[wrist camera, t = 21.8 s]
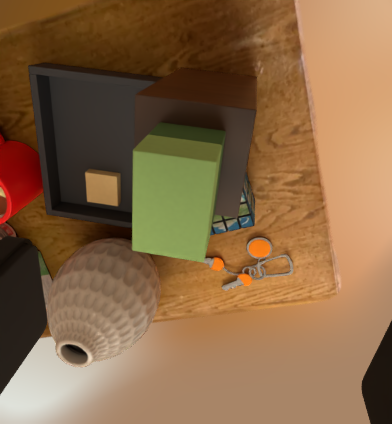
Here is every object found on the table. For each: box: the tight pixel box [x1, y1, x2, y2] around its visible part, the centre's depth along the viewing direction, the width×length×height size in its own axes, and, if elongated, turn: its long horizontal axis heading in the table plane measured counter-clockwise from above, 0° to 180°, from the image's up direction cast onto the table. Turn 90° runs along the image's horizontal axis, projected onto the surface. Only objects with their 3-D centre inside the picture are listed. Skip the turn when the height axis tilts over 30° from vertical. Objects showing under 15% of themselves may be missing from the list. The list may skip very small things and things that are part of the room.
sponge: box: [132, 122, 226, 262], centre depth 23 cm, size 6×4×6 cm
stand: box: [134, 68, 257, 218], centre depth 32 cm, size 8×8×16 cm
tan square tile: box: [85, 169, 121, 206], centre depth 44 cm, size 4×4×1 cm
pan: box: [28, 63, 163, 228], centre depth 41 cm, size 18×14×3 cm
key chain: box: [203, 237, 293, 290], centre depth 47 cm, size 13×7×1 cm, turn 109°
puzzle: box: [210, 173, 255, 235], centre depth 40 cm, size 6×6×6 cm
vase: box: [47, 238, 161, 367], centre depth 43 cm, size 13×13×17 cm
